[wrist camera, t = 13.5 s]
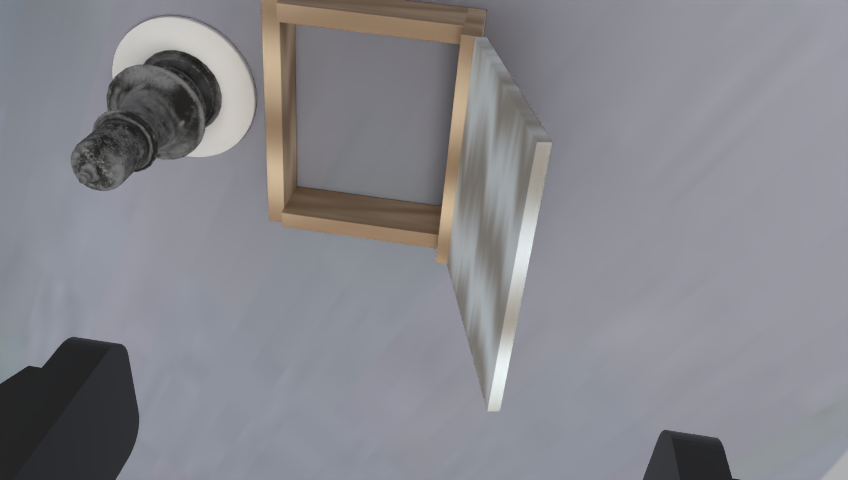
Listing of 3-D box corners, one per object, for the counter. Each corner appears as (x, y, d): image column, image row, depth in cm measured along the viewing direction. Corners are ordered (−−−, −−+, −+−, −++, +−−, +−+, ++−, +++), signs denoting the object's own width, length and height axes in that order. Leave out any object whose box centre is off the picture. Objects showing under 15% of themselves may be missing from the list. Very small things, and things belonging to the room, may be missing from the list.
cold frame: (277, -16, 42) (148, 91, 28) (547, 17, 41) (552, 144, 27) (282, 197, 50) (183, 364, 36) (510, 229, 49) (499, 413, 35)
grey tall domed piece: (121, 100, 47) (7, 191, 37) (155, 25, 44) (41, 101, 34) (203, 152, 48) (115, 253, 38) (242, 82, 45) (157, 171, 35)
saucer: (106, 6, 44) (101, 9, 44) (253, 25, 43) (250, 28, 43) (127, 143, 49) (123, 147, 48) (259, 161, 48) (256, 165, 48)
